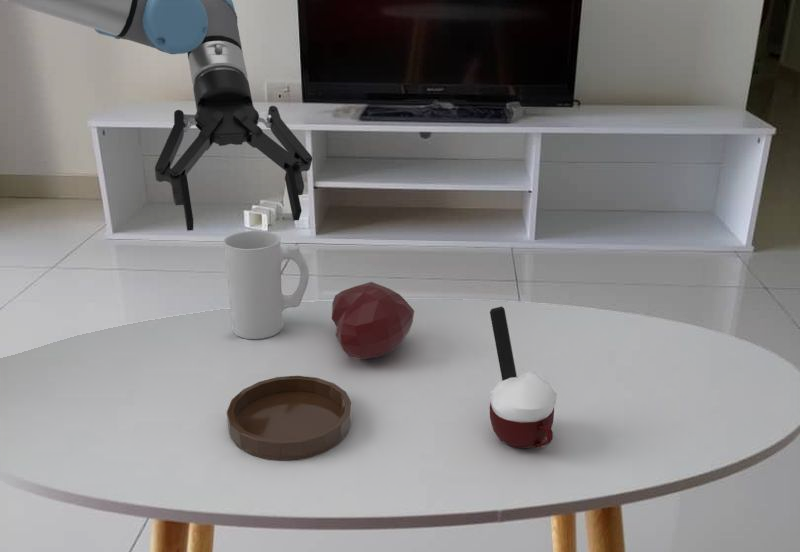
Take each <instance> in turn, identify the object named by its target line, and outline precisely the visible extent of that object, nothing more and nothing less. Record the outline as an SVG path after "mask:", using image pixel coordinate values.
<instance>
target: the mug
mask: <svg viewBox="0 0 800 552" xmlns="http://www.w3.org/2000/svg"><path fill="white" fill-rule="evenodd" d="M281 240H282V238H281V236H279V235H278V234H277V233H274V232H271V231H265V230H246V231H240V232H236V233H232V234H229V235H227V236H225V238H224V239H223V240H222V241H223V246H224V247H223V248H224V258H225V270H226V279H227V289H228V290H227V291H228V299H229V309H230V310H229V311H230V319H231V327H232V332H233V333H234V334H235V336H236V337H239V338H242V339H245V340H262V339H267V338H271V337H274V336H276V335H277V334H279V333H280V332H281V331H282V329H283V311H284V310H286V309H289V308H298V307H300V305H301V303H302V300H303V297H304V295H305V293H306V290H307V287H308V284H309V278H310V276H309V275H310V273H309V267H308V264H307V261H306V259H305V258H304V256H303V254H302V252H301V249H300V246H299V245H293V246H292V245H290V246H288V248H287V249H286V248H285V249H283V248H282V247H281ZM285 260H292V261H293V262H295V264H296V265H297V267H298V269H299V273H300V276H299V277H300V278H299V283H298V285H297V288H296V289H295V291H294V292H293V293H292V294H290V295H284V294H283V291H282V263H283V261H285Z"/></svg>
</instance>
